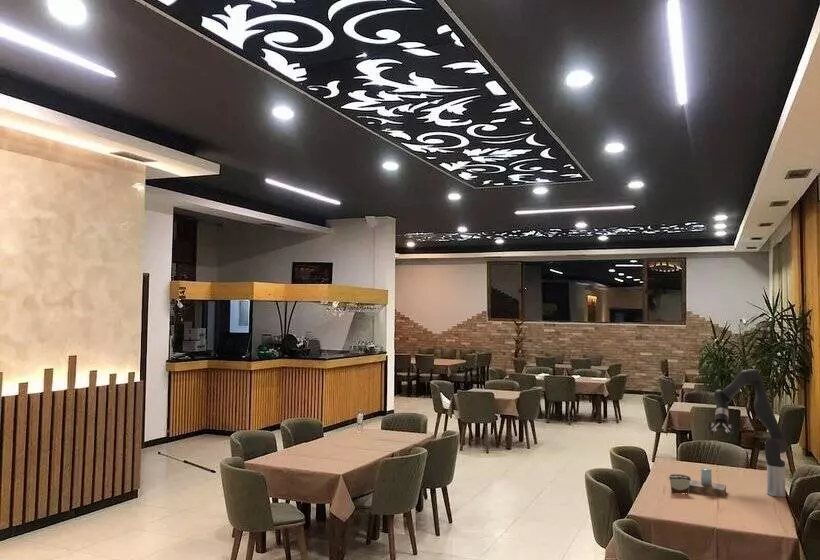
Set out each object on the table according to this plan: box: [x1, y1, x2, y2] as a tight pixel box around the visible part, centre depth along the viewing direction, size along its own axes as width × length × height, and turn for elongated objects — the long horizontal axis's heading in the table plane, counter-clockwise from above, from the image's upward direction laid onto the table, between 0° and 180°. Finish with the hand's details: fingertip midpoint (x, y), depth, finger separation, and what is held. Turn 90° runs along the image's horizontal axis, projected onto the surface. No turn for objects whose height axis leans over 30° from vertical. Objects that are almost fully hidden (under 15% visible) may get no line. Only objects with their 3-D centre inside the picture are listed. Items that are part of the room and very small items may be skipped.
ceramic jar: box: [700, 467, 713, 486], centre depth 380 cm, size 6×6×9 cm
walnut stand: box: [689, 479, 727, 498], centre depth 380 cm, size 20×14×4 cm
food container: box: [668, 473, 692, 495], centre depth 376 cm, size 12×6×10 cm, turn 84°
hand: (720, 437), depth 400 cm, fingers open, 8 cm apart
